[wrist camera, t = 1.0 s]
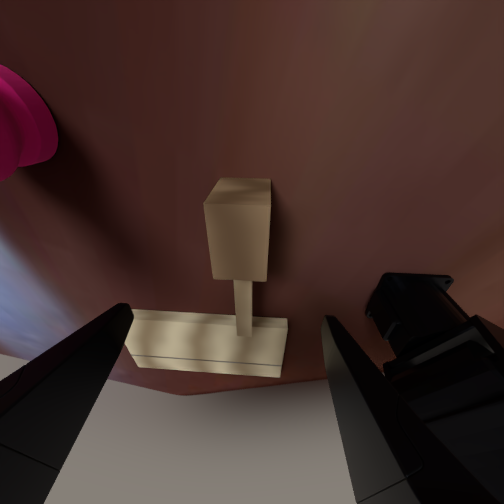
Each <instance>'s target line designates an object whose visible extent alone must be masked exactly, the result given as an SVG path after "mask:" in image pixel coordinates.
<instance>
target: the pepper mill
mask: <svg viewBox="0 0 504 504" xmlns="http://www.w3.org/2000/svg"><path fill="white" fill-rule="evenodd" d="M57 147H58V134H57V128H56V124H55V122H54V119H53V117H52V115H51V112H50V111H49V109H48V107H47V106H46V104H45V103H44V101H43V100H42V98H41V97H40V96H39V95H38V94H37V92H36V91H35V90H34V89H33V88H32V87H31V85H29V84H28V83H27V82H26V81H25V80H23V79H22V78H21V77H20V76H19V75H17V74H16V73H14V72H13V71H11V70H10V69H8V68H7V67H5V66H3V65H1V64H0V181H2V180H4V179H6V178H8V177H10V176H11V175H12V174H13V173H14V172H15V170H16V169H17V167H24V166H28V165H32V164H36V163H40V162H44V161H47V160H49V159H50V158H51V157H52V156H53V155H54V154H55V152H56V150H57Z"/></svg>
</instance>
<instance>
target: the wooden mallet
mask: <svg viewBox="0 0 504 504" xmlns="http://www.w3.org/2000/svg"><path fill="white" fill-rule="evenodd" d="M203 205H204V212H205V220H206V227H207V235H208V243H209V250H210V258H211V265H212V273H213V279H222V280H234V295H235V312H236V329H237V336H244V337H252V300H253V281H261V282H266V279H267V262H268V246H269V229H270V212H271V179H259V178H220V179H219V181H218V182H217V184H216V185H215V187H214V188H213V190H212V191H211V193H210V194H209V196H208V197H207V199H206V200H205V202H204V203H203Z"/></svg>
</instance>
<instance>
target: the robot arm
mask: <svg viewBox="0 0 504 504" xmlns="http://www.w3.org/2000/svg"><path fill="white" fill-rule="evenodd" d="M453 281H454V280H453V279H452V278H451V277H450V276H448V275H429V274H408V273H385V274H384V275H383V276H382V278H381V280H380V282H379V285H378V287H377V289H376V291H375V292H374V294H373V296H372V298H371V300H370V303H369V305H368V308H367V310H366V312H365V314H366V316H367V317H368V318H373V319H374V322H375V324H376V326H377V328H378V330H379V332H380V334H381V336H382V338H383V339H384V340H385V341H389V343H390V345H391V347H392V349H393V351H394V353H395V355H396V357H397V358H396V359H394V360H392V361H390V362H386V363H384V364H383V368H384V374H385V376H384V375H383V374H382V373H381V371H380V370H379V369H378V368H377V367H376V365H375V364H374V363H373V362H372V360H371V359H370V358H369V357H368V356H367V354H366V353H365V352H364V351H363V350H362V348H361V347H360V346H359V345H358V344H357V342H356V341H355V340H354V339H353V338H352V336H351V335H350V334H349V333H348V331H347V330H346V329H345V328H344V327H343V325H342V324H341V323H340V322H339V321H338V319H337V318H336V317H335V316H331V315H325V316H324V319H323V322H322V325H321V337H322V345H323V354H324V362H325V368H326V373H327V378H328V382H329V386H330V391H331V395H332V399H333V404H334V407H335V412H336V417H337V421H338V425H339V430H340V434H341V438H342V442H343V447H344V452H345V456H346V460H347V465H348V469H349V473H350V478H351V482H352V486H353V491H354V495H355V500H356V503H357V504H504V329H502V328H500V327H498V326H497V325H495V324H493V323H491V322H489V321H487V320H486V319H484V318H482V317H480V316H478V315H474V316H472V317H469V316H468V315H467V314H466V313H465V312H464V311H463V310H462V309H461V307H460V306H459V305H458V304H457V303H456V302H455V301H454V300H453V299H452V298H451V297H450V296H449V295H448V294H447V293H446V291H447V290H448V288H449V287H450V286H451V284H452V283H453ZM133 320H134V314H133V311H132V309H131V307H130V305H129V304H127V303H118V304H116V305H115V306H113V307H112V308H110V309H109V310H107V311H106V312H104V313H103V314H101V315H100V316H98V317H97V318H95V319H94V320H92V321H91V322H89V323H88V324H86V325H85V326H83V327H82V328H80V329H78V330H77V331H75V332H74V333H72V334H71V335H69V336H68V337H66V338H65V339H63V340H62V341H60V342H59V343H57V344H56V345H54V346H53V347H51V348H50V349H48V350H47V351H45V352H44V353H42V354H41V355H39V356H38V357H36V358H35V359H33V360H32V361H30V362H29V363H27V364H26V365H24V366H22V367H21V368H20V369H18V370H16V371H15V372H13V373H12V374H10V375H9V376H8V377H6V378H4V379H2V380H1V381H0V504H44V502H45V500H46V498H47V496H48V494H49V492H50V490H51V488H52V486H53V484H54V482H55V480H56V478H57V476H58V474H59V472H60V470H61V468H62V466H63V464H64V462H65V460H66V458H67V456H68V455H69V453H70V451H71V449H72V447H73V445H74V443H75V441H76V439H77V437H78V435H79V433H80V431H81V429H82V427H83V425H84V423H85V421H86V419H87V417H88V415H89V413H90V411H91V409H92V407H93V406H94V403H95V402H96V400H97V398H98V396H99V394H100V392H101V390H102V388H103V386H104V384H105V382H106V380H107V378H108V376H109V374H110V372H111V370H112V368H113V366H114V364H115V362H116V360H117V359H118V357H119V354H120V352H121V350H122V348H123V346H124V343H125V340H126V338H127V335H128V333H129V330H130V328H131V325H132V323H133Z"/></svg>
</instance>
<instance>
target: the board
mask: <svg viewBox="0 0 504 504" xmlns="http://www.w3.org/2000/svg"><path fill="white" fill-rule="evenodd" d="M132 311H133V314H134V320H133V323H132V325H131V328H130V330H129V333H128V335H127V338H126V340H125V345H126V346H127V348H128V350H129V351H130V353H131V355H132V356H133V358H134V360H135V362H136V363H137V365H138V367H146V368H159V369H172V370H185V371H199V372H212V373H225V374H238V375H252V376H265V377H278V378H280V373H281V367H282V361H283V355H284V349H285V343H286V337H287V331H288V324H287V319H286V318H270V317H253V316H252V337H244V336H237V329H236V315H220V314H203V313H187V312H170V311H154V310H137V309H132Z"/></svg>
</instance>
